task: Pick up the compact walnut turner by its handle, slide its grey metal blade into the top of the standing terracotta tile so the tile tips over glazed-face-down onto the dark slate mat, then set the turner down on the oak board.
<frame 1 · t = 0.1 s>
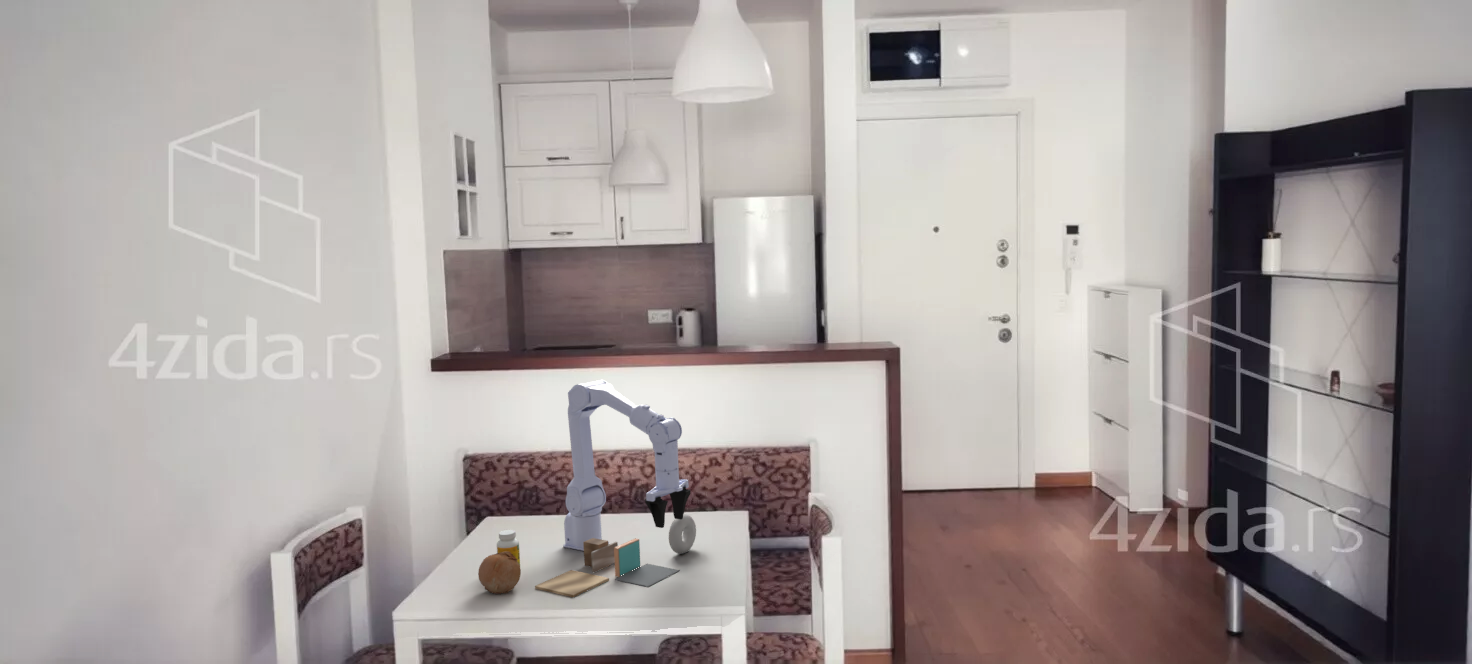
hand: (669, 522, 226), 10 cm above the table, tool pointing down, fingers open, 7 cm apart
oak board: (572, 584, 214), on the table
donut: (683, 553, 234), on the table
supplement bottle: (509, 570, 226), on the table
turner: (596, 565, 227), on the table
onion: (500, 592, 212), on the table
tile: (628, 571, 222), on the table
slate mat: (647, 575, 218), on the table
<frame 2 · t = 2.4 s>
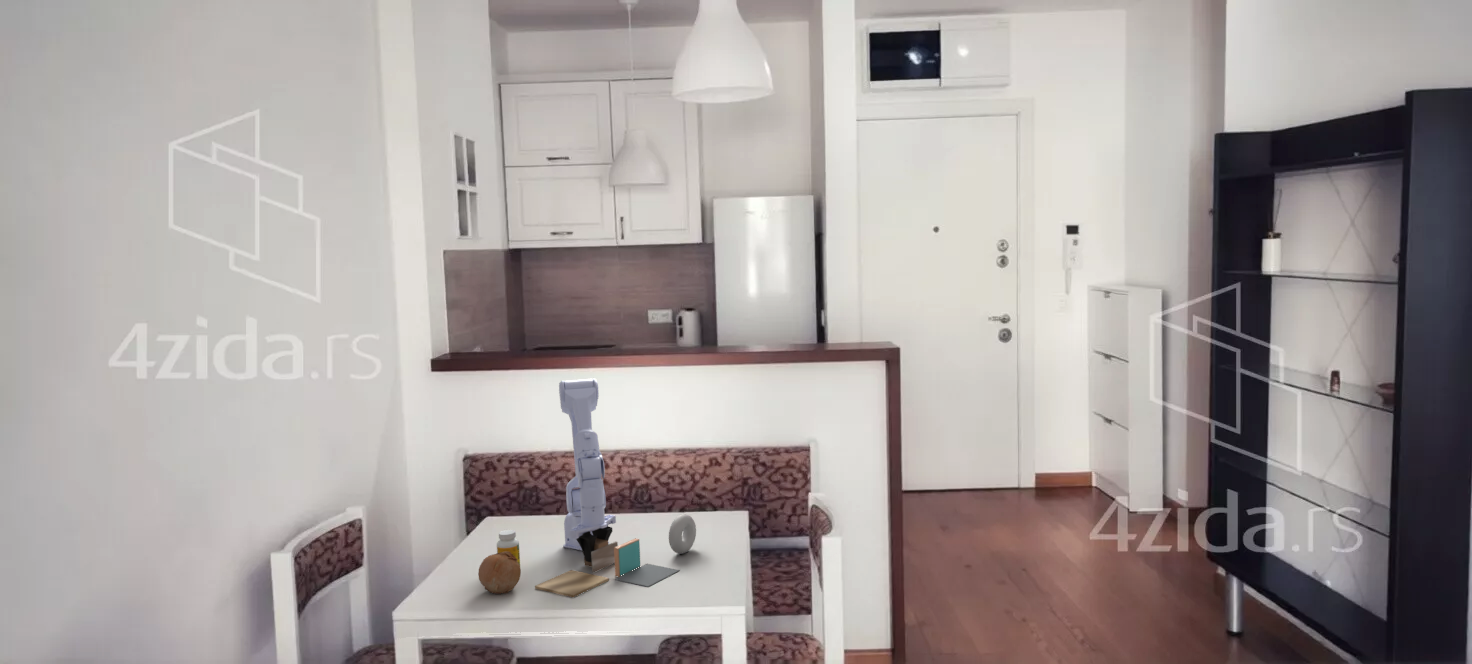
hand: (595, 558, 227), 1 cm above the table, tool pointing down, fingers closed on turner, 3 cm apart
turner: (596, 564, 227), on the table, touching gripper
everything else where it was.
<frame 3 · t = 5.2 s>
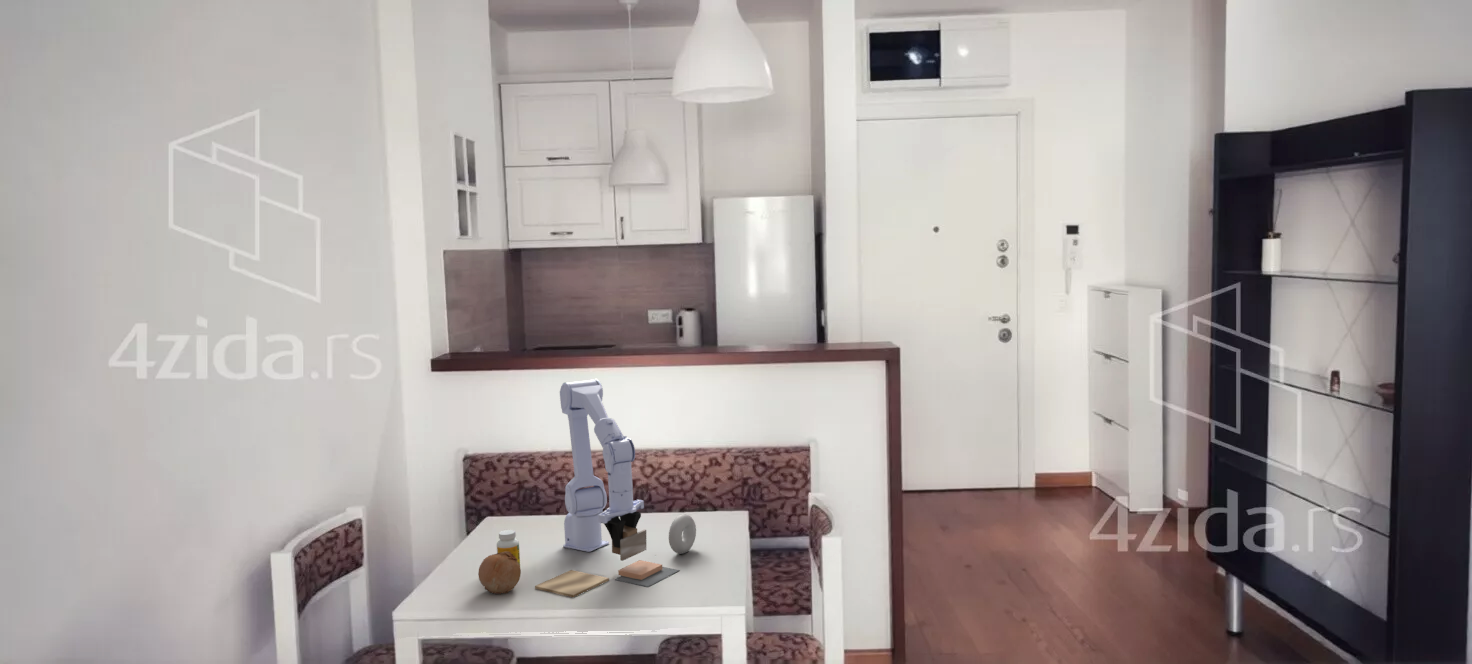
hand: (623, 544, 222), 6 cm above the table, tool pointing down, fingers closed on turner, 3 cm apart
turner: (624, 552, 222), point 4 cm above the table, touching gripper
tile: (629, 567, 221), point 1 cm above the table, tilted 90°, touching slate mat
everything else where it was.
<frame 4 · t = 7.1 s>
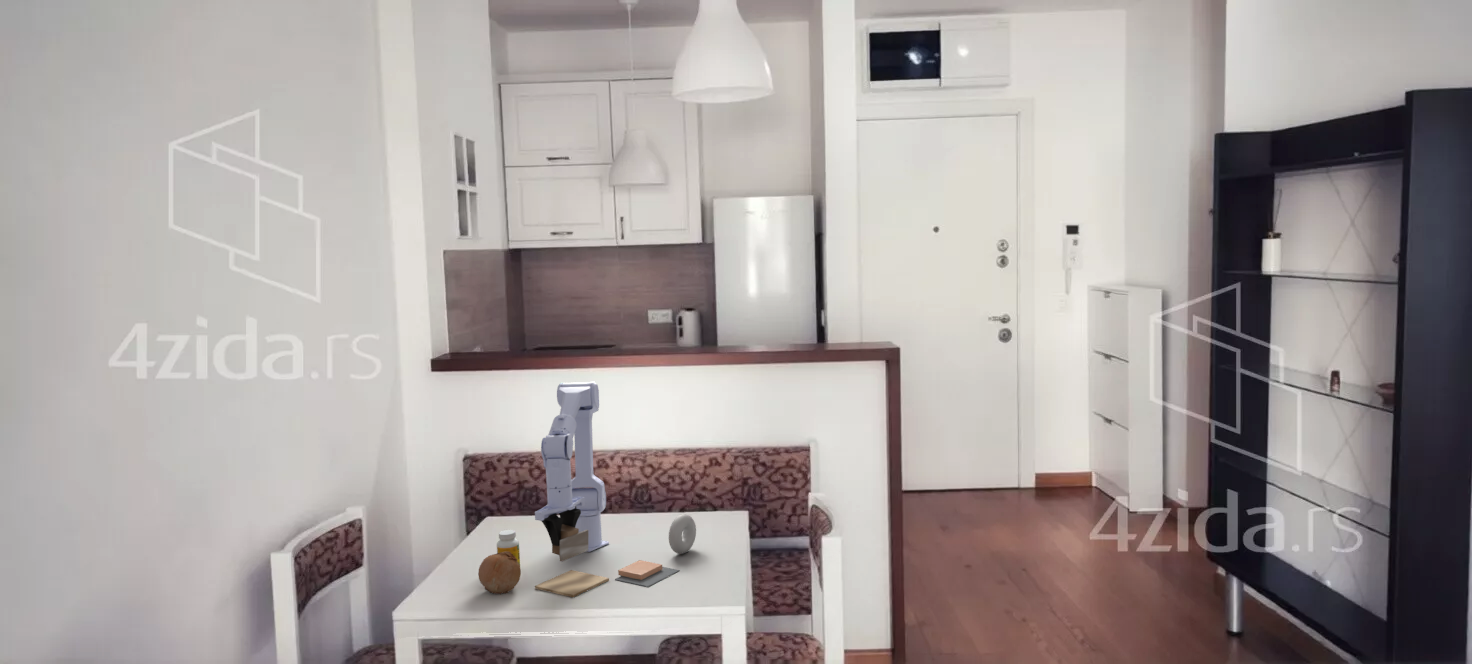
hand: (562, 542, 215), 9 cm above the table, tool pointing down, fingers closed on turner, 3 cm apart
turner: (565, 553, 215), point 7 cm above the table, touching gripper
everything else where it was.
when the fingers open (3 cm above the table, at t = 8.7 s): turner stays where it is, resting on oak board.
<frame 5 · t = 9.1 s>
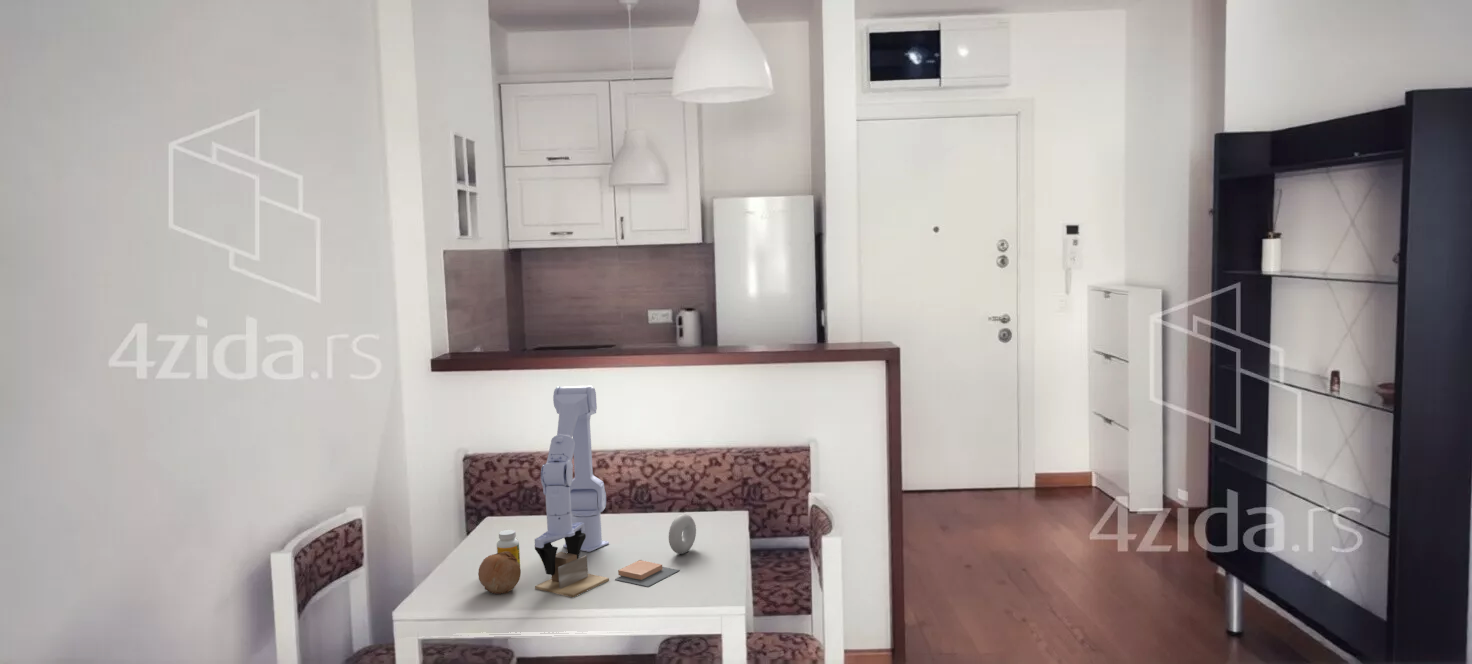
hand: (562, 569, 216), 3 cm above the table, tool pointing down, fingers open, 7 cm apart
turner: (565, 580, 215), point 1 cm above the table, touching oak board
everything else where it was.
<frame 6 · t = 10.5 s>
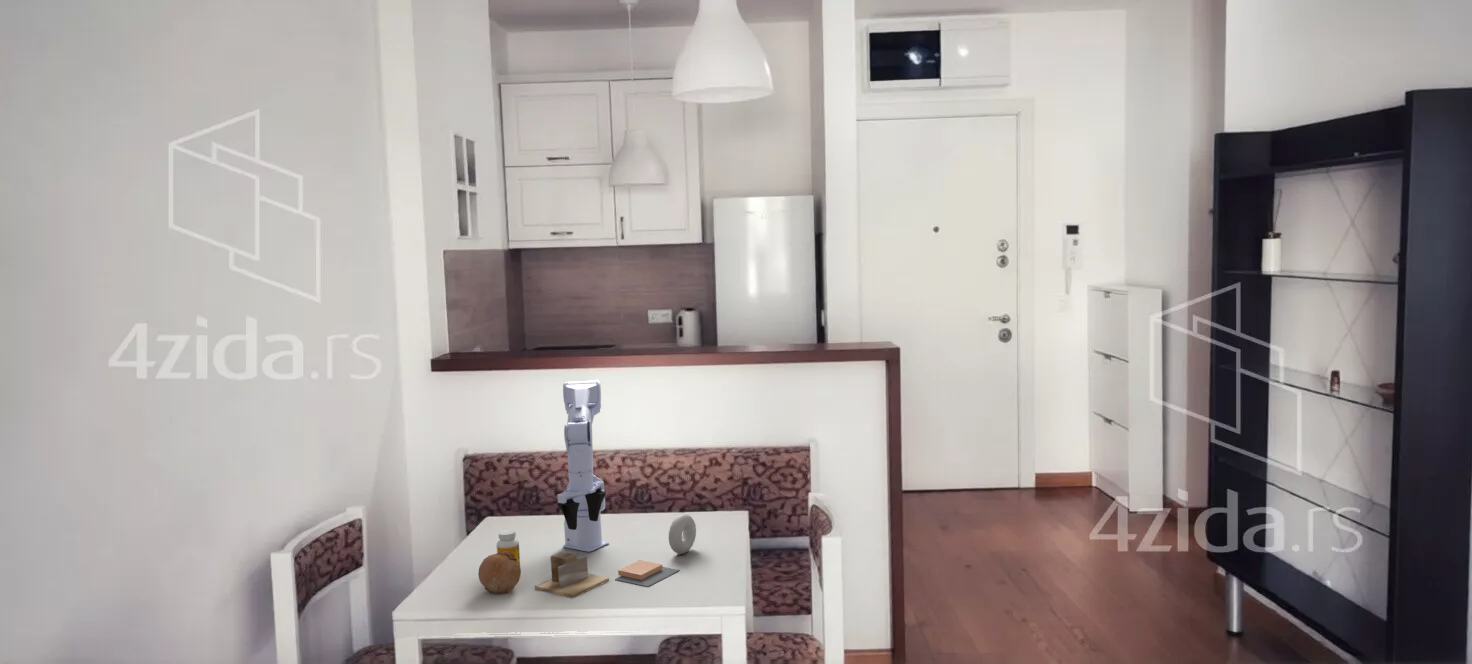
hand: (583, 524, 226), 10 cm above the table, tool pointing down, fingers open, 7 cm apart
nothing on the table moved.
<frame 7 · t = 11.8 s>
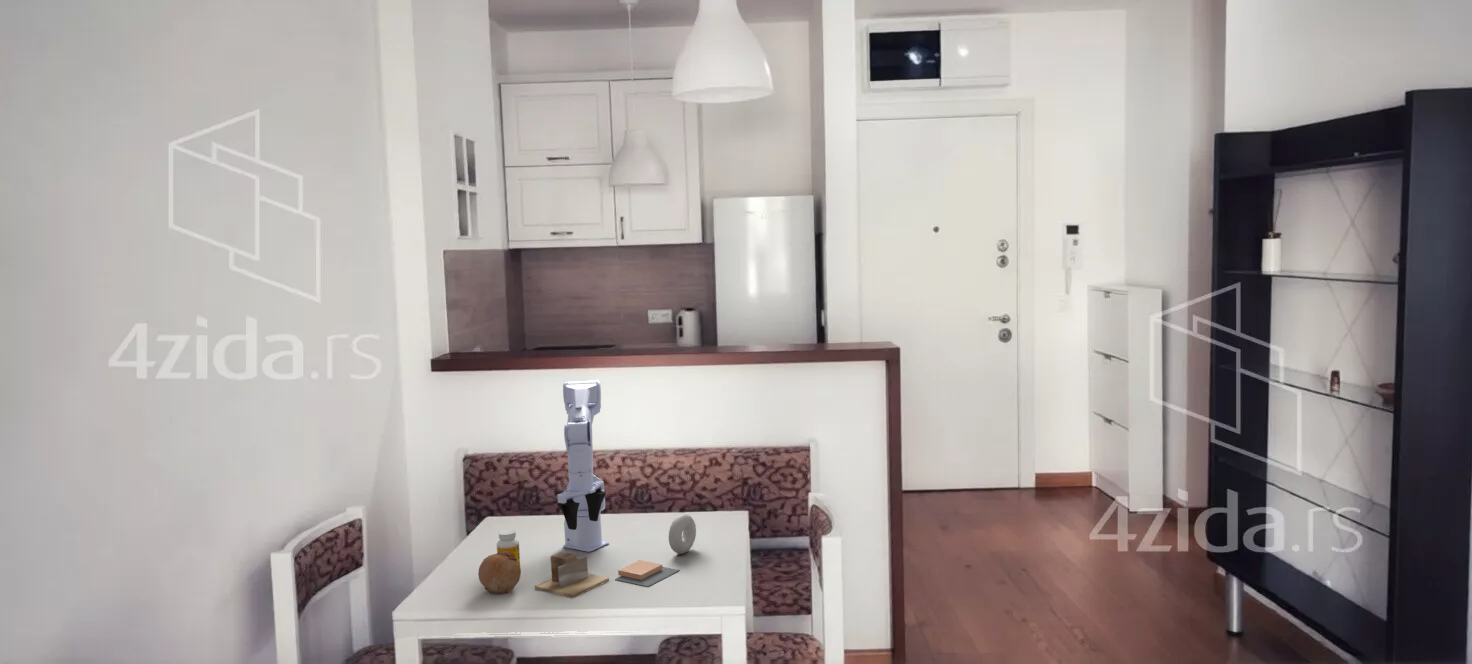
hand: (583, 524, 226), 10 cm above the table, tool pointing down, fingers open, 7 cm apart
nothing on the table moved.
at the end: tile tilted 90°; tile inside the target area (4.6 cm from its centre), point 1.0 cm above the table; turner inside the target area (0.6 cm from its centre), point 0.6 cm above the table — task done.
